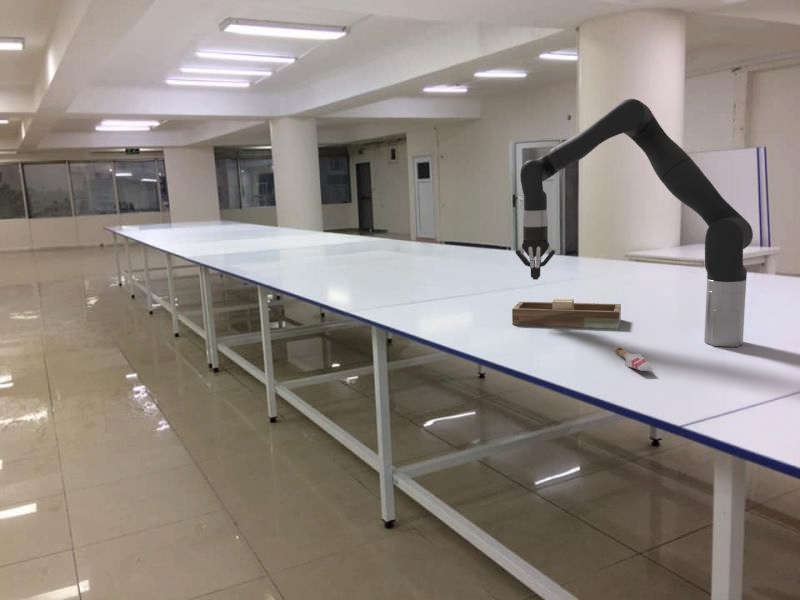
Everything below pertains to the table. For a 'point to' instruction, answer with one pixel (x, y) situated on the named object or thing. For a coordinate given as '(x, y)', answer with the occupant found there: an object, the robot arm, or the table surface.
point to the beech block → (563, 304)
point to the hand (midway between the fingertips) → (535, 279)
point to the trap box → (567, 315)
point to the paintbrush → (633, 360)
